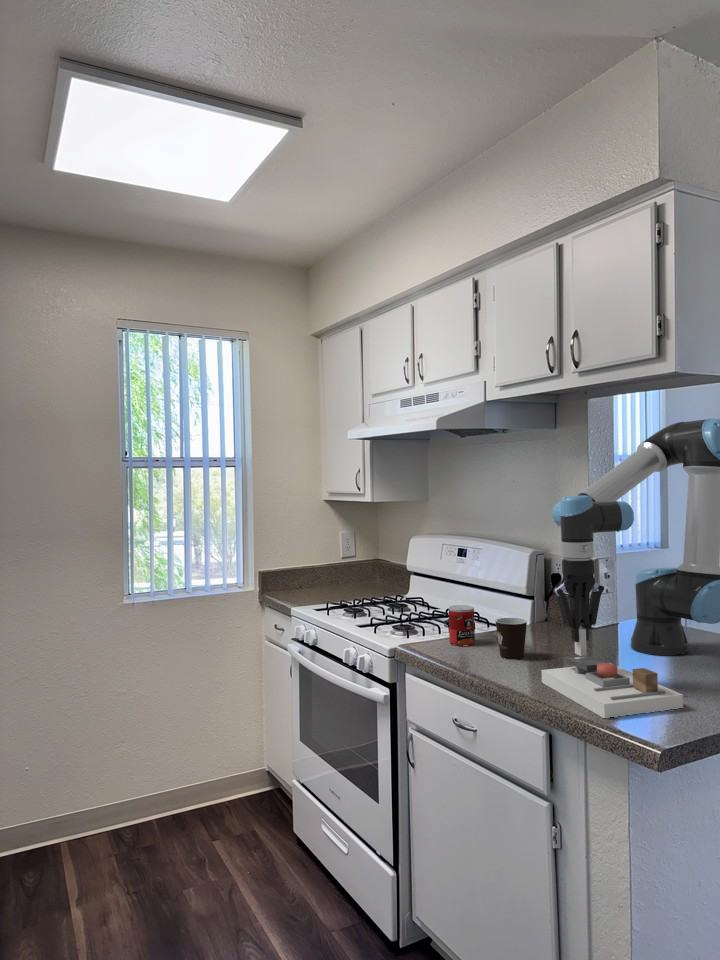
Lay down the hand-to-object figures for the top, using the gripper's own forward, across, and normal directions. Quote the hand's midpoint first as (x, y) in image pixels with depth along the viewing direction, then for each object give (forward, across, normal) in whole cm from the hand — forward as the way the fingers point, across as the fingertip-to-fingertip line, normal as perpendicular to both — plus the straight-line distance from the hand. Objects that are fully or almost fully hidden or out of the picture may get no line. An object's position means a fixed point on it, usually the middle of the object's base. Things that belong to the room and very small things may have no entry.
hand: (580, 654), depth 165 cm
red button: (+2, 0, -11) cm, 11 cm away
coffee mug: (+7, -5, +27) cm, 28 cm away
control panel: (+6, 0, -11) cm, 13 cm away
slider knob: (+3, +4, -19) cm, 20 cm away
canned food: (+7, -13, +44) cm, 46 cm away
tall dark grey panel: (+2, 0, -3) cm, 4 cm away
